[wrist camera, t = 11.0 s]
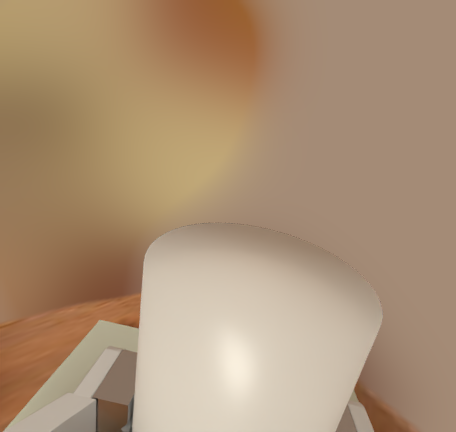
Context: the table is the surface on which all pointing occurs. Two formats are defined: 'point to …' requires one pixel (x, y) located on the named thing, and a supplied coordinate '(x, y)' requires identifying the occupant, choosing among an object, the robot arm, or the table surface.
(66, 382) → the slab with grey frame
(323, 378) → the white rounded capsule
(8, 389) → the table surface
